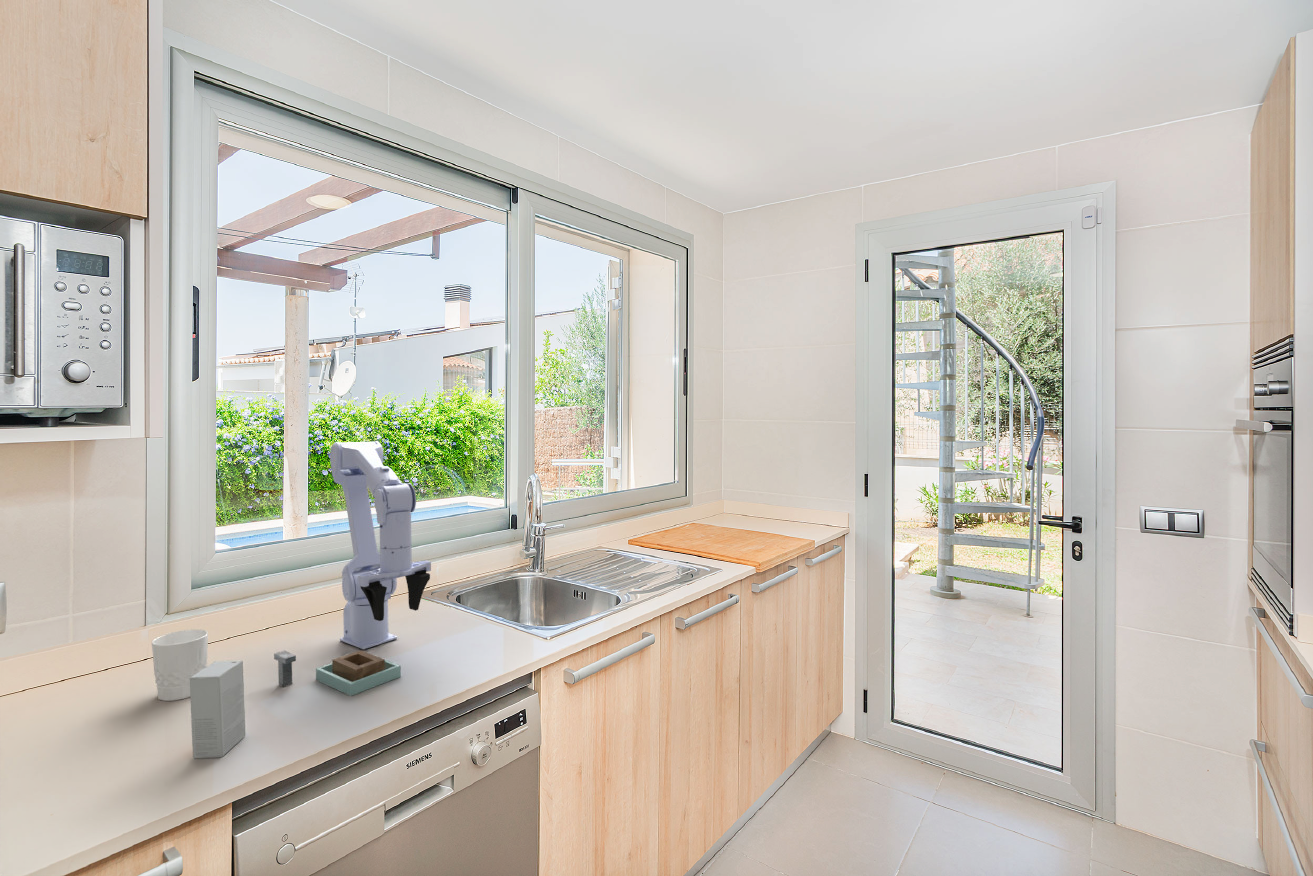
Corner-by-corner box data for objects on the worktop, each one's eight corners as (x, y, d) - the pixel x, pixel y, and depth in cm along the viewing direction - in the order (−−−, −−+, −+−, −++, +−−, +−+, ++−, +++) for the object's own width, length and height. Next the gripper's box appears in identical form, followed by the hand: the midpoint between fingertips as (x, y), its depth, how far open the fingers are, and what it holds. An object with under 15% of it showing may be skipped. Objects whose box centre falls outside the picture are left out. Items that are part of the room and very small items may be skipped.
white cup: (147, 706, 104) (146, 648, 104) (159, 688, 111) (157, 633, 111) (205, 697, 108) (203, 640, 108) (213, 679, 115) (211, 626, 115)
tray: (316, 679, 115) (315, 668, 115) (365, 662, 123) (365, 652, 123) (350, 696, 108) (350, 684, 108) (400, 676, 116) (400, 665, 116)
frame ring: (356, 686, 111) (355, 669, 111) (332, 675, 116) (332, 659, 116) (384, 675, 116) (384, 659, 116) (361, 665, 120) (361, 650, 120)
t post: (274, 683, 114) (274, 653, 113) (285, 679, 115) (284, 650, 115) (285, 688, 111) (285, 658, 111) (296, 685, 113) (295, 655, 112)
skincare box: (216, 737, 95) (214, 660, 94) (246, 736, 95) (244, 659, 94) (190, 759, 89) (188, 677, 88) (222, 758, 89) (219, 676, 88)
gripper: (372, 555, 113) (373, 629, 114) (440, 542, 125) (440, 608, 126) (351, 550, 117) (352, 621, 118) (418, 538, 129) (419, 602, 130)
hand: (396, 614), depth 122 cm, fingers open, 7 cm apart
